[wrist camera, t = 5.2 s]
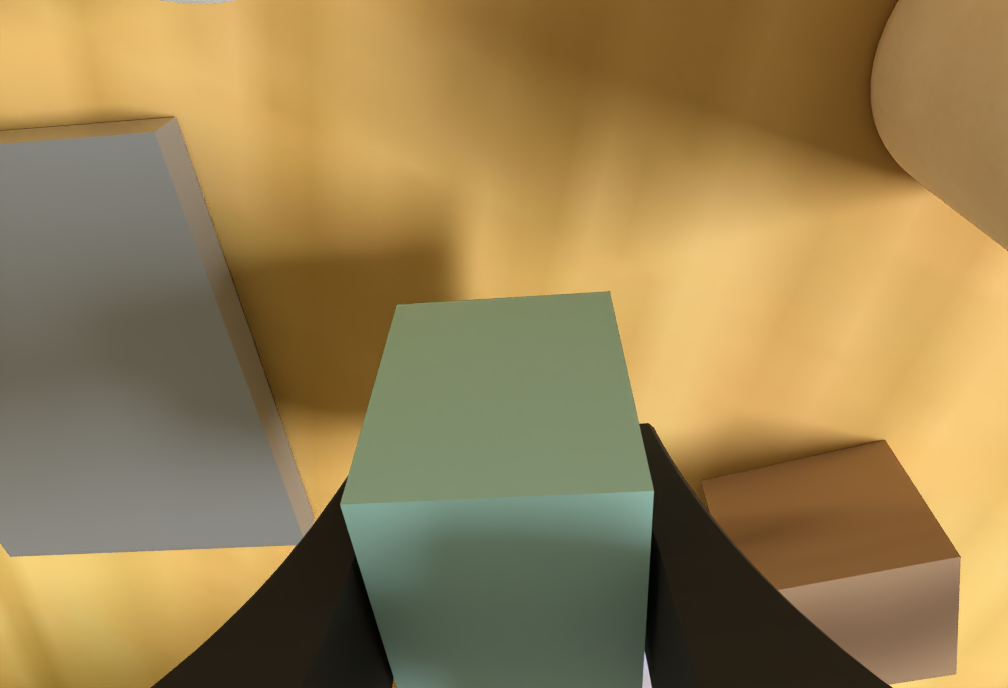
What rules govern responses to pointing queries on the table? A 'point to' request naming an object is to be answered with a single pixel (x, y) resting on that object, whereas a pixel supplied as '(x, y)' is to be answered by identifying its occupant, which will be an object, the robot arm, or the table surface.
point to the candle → (948, 103)
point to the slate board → (128, 357)
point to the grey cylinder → (198, 1)
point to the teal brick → (504, 497)
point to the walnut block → (851, 555)
